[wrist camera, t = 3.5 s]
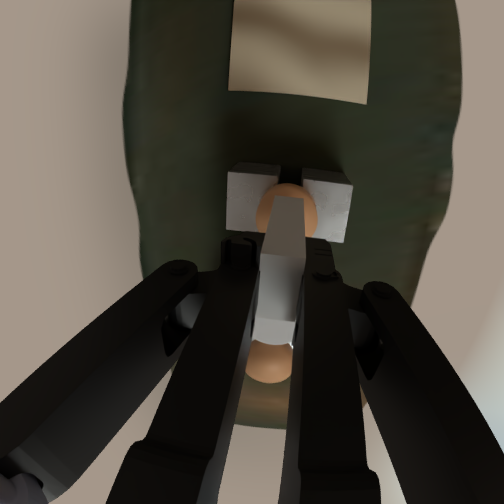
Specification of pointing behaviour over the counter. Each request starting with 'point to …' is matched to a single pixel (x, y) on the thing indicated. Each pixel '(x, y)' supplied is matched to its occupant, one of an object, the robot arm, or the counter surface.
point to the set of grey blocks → (268, 175)
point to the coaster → (302, 48)
